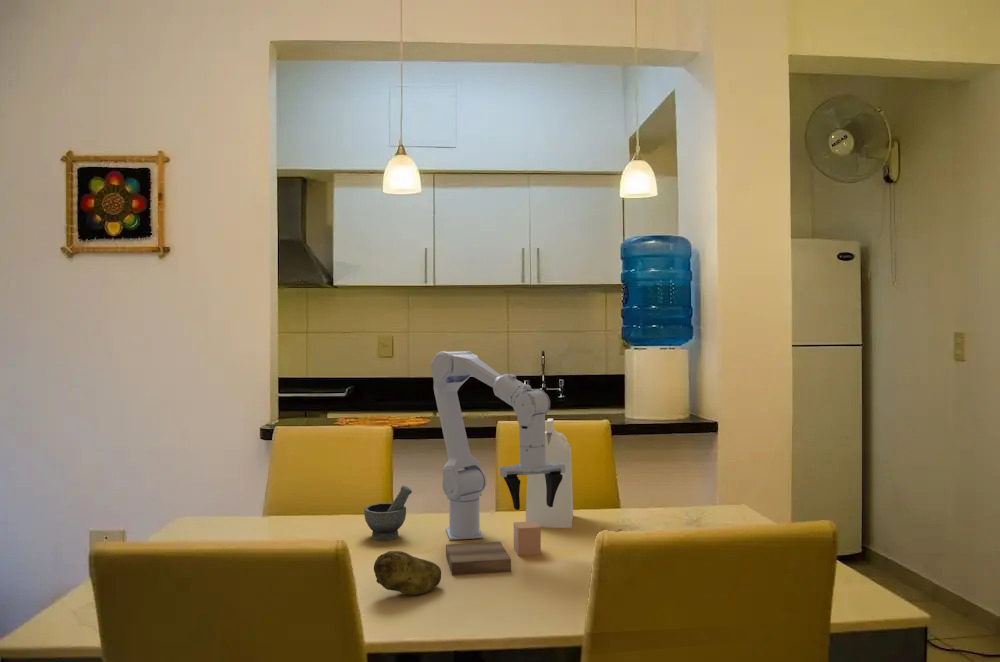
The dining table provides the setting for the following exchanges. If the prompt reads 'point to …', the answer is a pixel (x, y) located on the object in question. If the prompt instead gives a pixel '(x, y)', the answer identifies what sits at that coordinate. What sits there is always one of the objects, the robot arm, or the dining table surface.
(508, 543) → the dining table surface
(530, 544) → the terracotta block
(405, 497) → the mortar and pestle
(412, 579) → the potato
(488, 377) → the robot arm
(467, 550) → the walnut base slab
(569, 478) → the milk
